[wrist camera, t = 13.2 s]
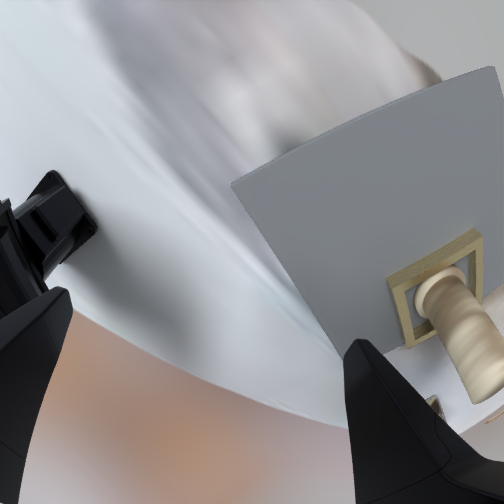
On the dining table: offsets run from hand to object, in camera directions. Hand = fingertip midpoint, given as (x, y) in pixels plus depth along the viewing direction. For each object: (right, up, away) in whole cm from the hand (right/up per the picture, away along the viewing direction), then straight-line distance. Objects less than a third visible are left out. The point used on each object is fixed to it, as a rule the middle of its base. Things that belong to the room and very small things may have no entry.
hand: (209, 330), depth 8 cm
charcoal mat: (+16, +3, +13) cm, 21 cm away
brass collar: (+19, -1, +15) cm, 25 cm away
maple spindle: (+19, -1, +15) cm, 25 cm away
